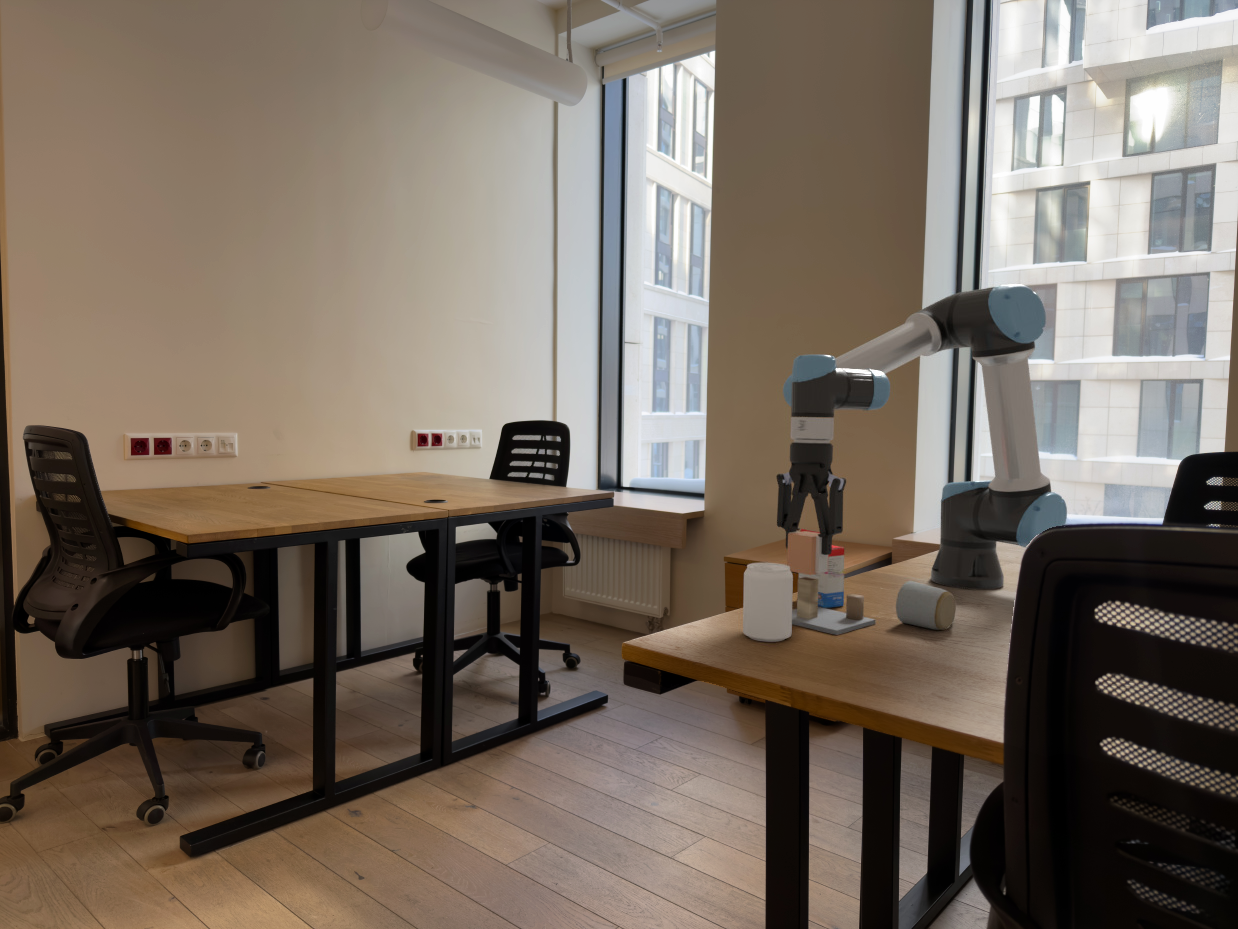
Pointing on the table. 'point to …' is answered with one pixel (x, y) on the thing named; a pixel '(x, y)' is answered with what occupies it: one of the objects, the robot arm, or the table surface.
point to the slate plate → (837, 618)
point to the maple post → (807, 598)
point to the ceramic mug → (925, 606)
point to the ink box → (830, 579)
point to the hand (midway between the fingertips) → (807, 569)
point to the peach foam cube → (802, 552)
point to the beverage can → (767, 602)
